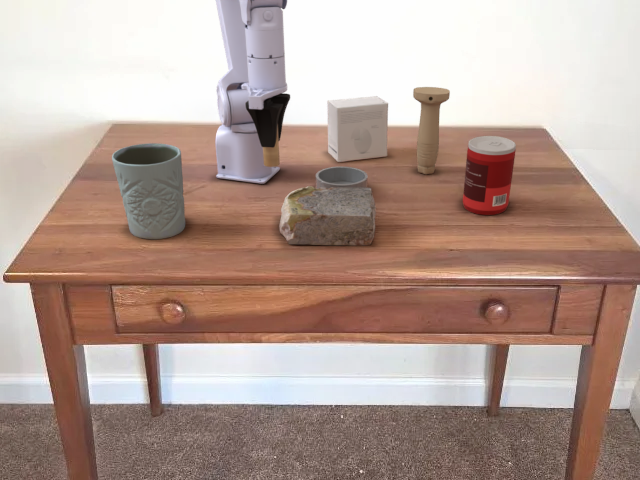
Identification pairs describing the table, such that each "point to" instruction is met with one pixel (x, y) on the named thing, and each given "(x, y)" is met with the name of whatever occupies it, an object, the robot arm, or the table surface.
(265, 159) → the stick
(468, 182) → the canned food
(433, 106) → the handle
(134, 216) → the drinking glass
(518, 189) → the table surface
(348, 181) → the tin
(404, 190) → the table surface
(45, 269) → the table surface
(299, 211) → the geological specimen
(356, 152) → the cosmetics box
